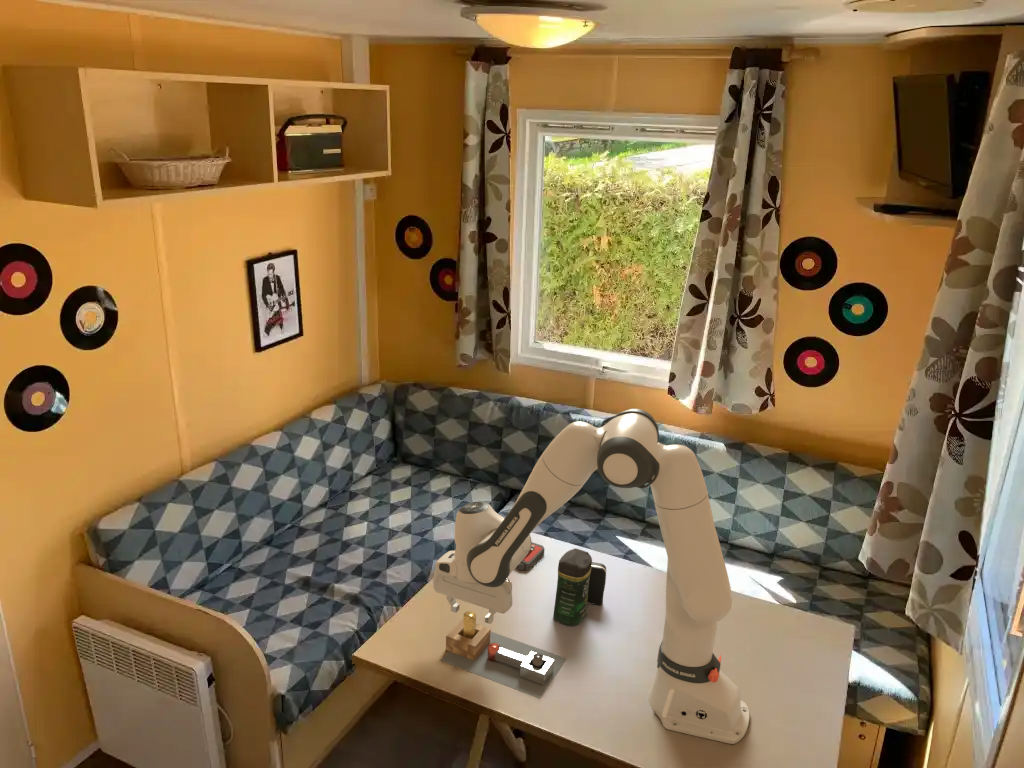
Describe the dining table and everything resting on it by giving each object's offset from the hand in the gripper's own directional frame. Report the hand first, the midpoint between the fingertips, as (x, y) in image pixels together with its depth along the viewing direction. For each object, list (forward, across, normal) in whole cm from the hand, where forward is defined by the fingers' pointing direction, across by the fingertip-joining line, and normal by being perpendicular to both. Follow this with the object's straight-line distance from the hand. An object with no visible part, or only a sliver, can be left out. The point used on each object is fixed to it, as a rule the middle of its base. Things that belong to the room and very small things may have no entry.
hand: (471, 616), depth 191 cm
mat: (+9, -9, 0) cm, 13 cm away
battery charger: (+10, -18, -35) cm, 40 cm away
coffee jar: (+10, -16, -25) cm, 31 cm away
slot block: (+8, +1, 0) cm, 9 cm away
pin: (+8, +1, 0) cm, 9 cm away
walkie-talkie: (+10, +7, -41) cm, 43 cm away
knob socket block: (+9, -13, +1) cm, 16 cm away
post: (+9, -18, +1) cm, 20 cm away
